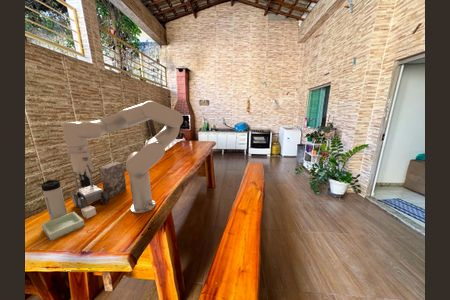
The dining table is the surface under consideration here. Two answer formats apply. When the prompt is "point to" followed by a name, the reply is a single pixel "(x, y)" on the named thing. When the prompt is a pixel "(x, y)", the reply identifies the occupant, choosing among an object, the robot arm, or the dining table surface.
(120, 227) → the dining table surface
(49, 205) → the travel mug
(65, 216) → the tray
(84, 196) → the trolley
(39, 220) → the dining table surface
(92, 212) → the white block
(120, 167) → the stone block
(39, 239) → the dining table surface
